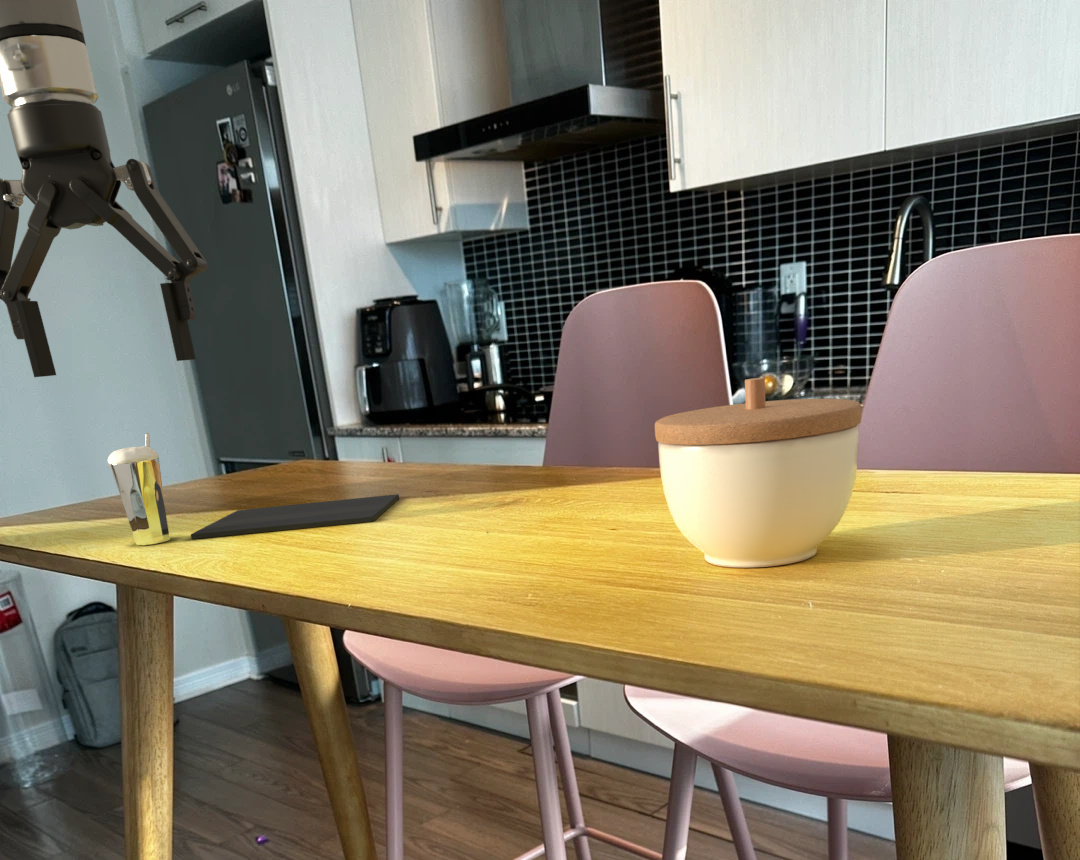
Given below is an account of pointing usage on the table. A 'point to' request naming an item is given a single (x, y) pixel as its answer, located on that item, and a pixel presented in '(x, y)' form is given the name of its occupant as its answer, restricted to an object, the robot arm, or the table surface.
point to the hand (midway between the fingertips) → (115, 368)
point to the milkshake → (141, 492)
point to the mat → (298, 516)
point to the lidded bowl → (759, 475)
